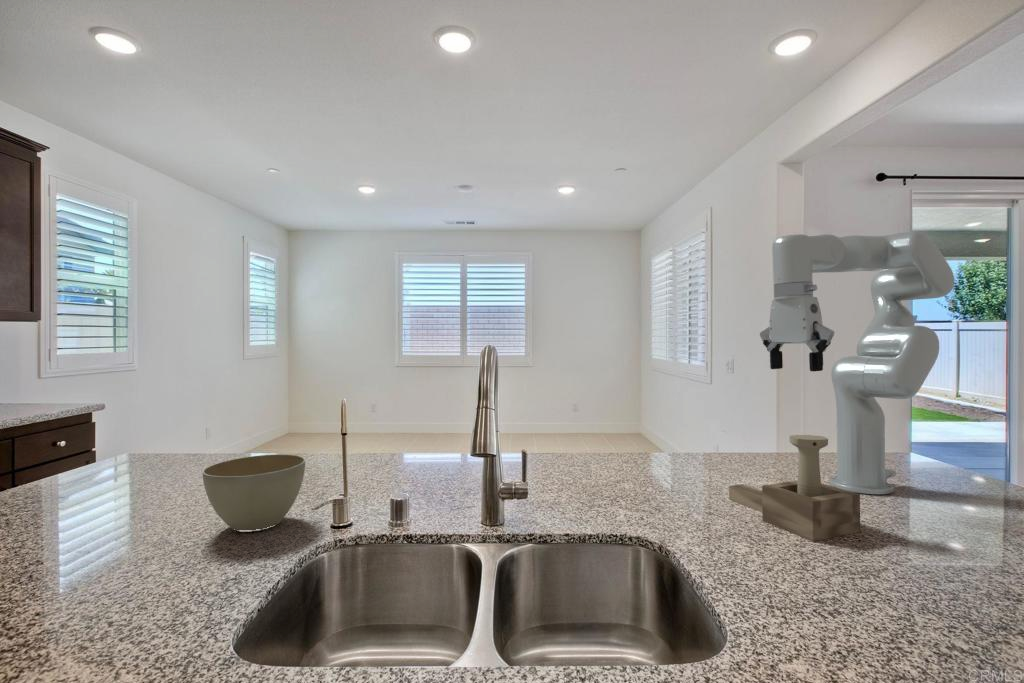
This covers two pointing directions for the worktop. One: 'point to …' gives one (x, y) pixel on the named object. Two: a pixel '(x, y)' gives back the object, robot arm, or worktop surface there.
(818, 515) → the wooden box scoop
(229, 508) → the olive grey bowl
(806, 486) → the handle
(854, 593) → the worktop surface
